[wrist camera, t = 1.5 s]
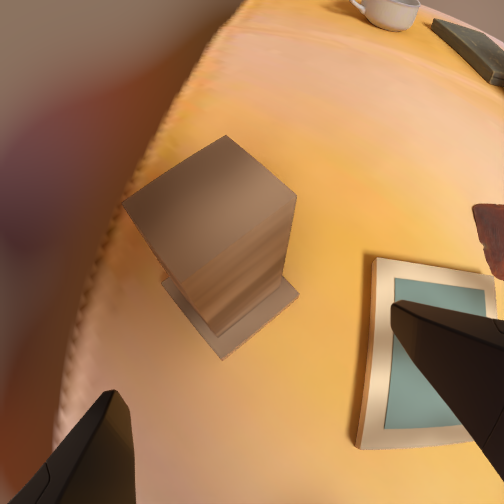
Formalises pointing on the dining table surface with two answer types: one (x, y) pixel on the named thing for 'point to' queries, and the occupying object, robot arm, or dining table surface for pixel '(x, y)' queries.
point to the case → (474, 49)
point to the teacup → (389, 13)
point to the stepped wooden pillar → (220, 241)
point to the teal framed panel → (399, 363)
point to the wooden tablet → (491, 235)
